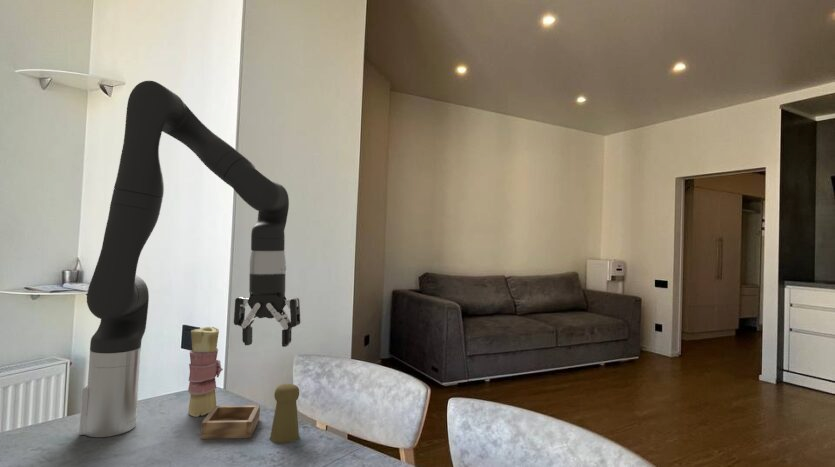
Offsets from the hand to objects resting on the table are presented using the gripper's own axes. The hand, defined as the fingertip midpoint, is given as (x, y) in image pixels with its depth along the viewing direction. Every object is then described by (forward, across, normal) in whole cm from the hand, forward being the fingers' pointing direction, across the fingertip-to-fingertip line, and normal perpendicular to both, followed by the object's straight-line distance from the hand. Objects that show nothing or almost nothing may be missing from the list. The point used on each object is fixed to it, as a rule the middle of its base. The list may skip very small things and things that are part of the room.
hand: (266, 345), depth 98 cm
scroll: (+19, -20, +9) cm, 29 cm away
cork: (+20, +4, -1) cm, 20 cm away
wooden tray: (+19, -8, +1) cm, 21 cm away
